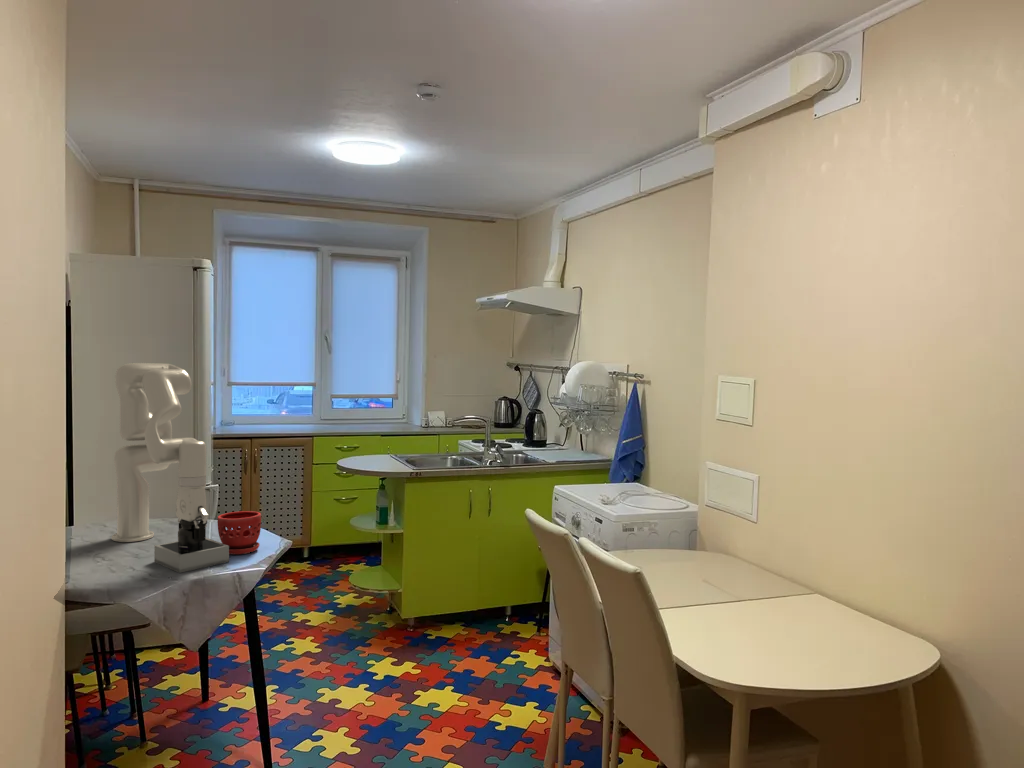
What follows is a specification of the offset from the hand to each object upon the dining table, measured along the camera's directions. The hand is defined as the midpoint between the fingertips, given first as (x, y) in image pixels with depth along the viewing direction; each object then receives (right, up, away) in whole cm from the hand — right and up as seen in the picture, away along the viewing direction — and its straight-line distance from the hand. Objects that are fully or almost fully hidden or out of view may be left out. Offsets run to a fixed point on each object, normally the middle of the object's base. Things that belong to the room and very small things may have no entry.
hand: (191, 538), depth 212 cm
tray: (0, -7, 0) cm, 7 cm away
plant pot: (+9, -7, +13) cm, 18 cm away
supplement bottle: (0, -6, 0) cm, 6 cm away
